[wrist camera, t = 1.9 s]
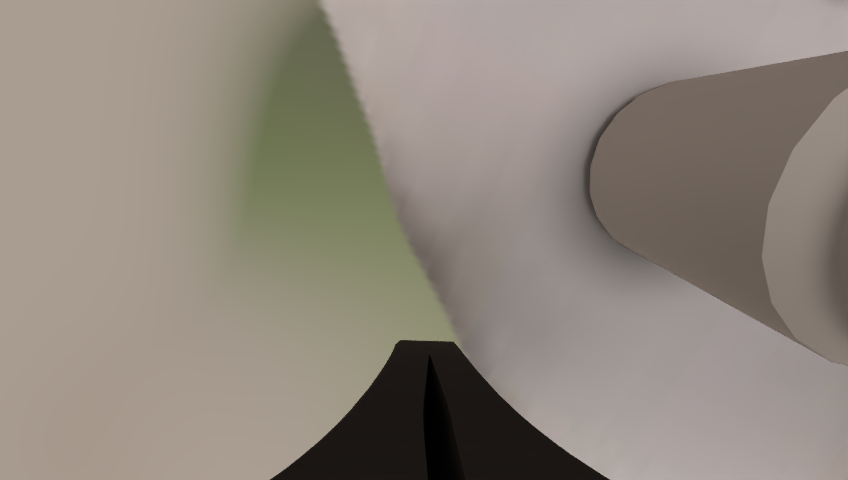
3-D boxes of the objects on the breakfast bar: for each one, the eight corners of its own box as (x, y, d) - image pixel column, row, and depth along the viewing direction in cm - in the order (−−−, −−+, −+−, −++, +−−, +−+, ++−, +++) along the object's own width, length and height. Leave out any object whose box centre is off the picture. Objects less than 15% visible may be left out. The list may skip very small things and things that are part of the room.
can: (656, 282, 21) (974, 481, 9) (546, 180, 19) (752, 260, 8) (781, 161, 19) (1343, 213, 8) (672, 43, 18) (1156, -116, 6)
